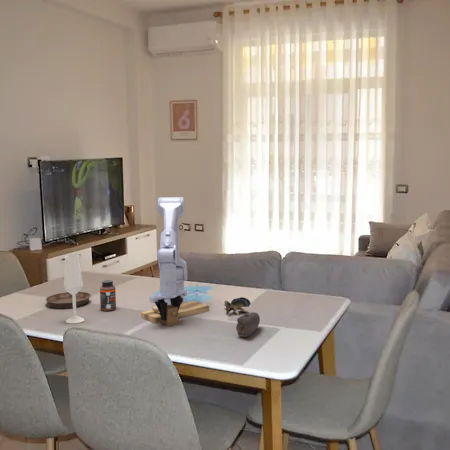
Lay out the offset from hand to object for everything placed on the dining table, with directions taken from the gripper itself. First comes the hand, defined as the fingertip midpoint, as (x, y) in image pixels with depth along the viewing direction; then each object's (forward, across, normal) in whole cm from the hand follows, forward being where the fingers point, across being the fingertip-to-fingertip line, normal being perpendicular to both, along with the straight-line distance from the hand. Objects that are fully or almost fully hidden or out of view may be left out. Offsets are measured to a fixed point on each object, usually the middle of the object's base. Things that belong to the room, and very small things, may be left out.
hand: (169, 318), depth 200 cm
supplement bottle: (+2, -8, +31) cm, 32 cm away
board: (+2, +8, +8) cm, 11 cm away
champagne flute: (+2, -24, +26) cm, 35 cm away
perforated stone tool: (+2, +14, -27) cm, 31 cm away
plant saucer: (+2, -16, +50) cm, 52 cm away
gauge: (+2, 0, +3) cm, 4 cm away
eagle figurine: (+2, +25, -7) cm, 26 cm away
